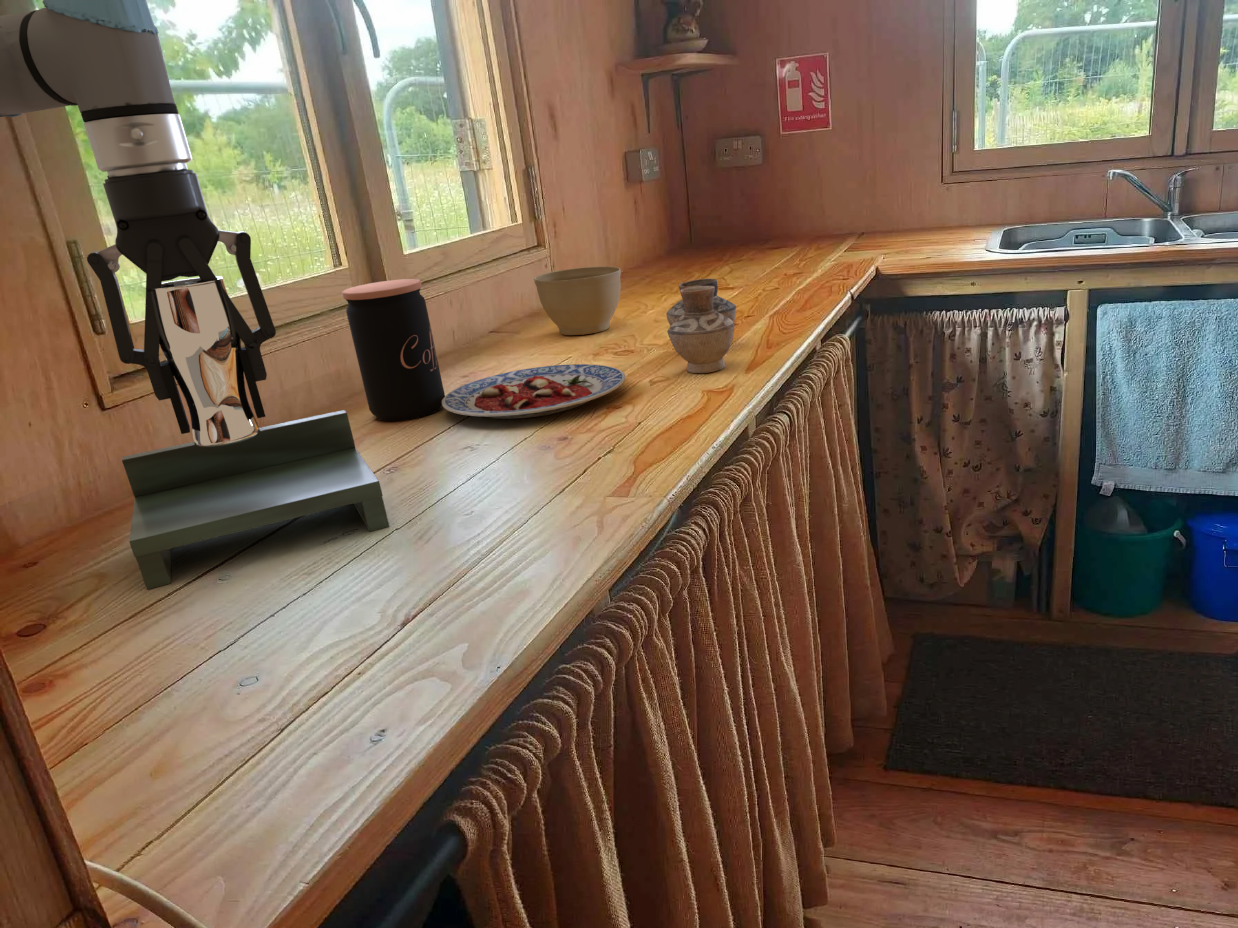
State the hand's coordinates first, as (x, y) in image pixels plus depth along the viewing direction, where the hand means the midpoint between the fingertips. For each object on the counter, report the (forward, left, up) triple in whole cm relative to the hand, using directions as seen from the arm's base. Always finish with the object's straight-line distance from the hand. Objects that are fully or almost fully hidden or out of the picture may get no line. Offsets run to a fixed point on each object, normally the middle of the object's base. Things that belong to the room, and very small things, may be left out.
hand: (223, 422), depth 94 cm
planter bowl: (-72, +64, -12) cm, 97 cm away
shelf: (0, +1, -12) cm, 12 cm away
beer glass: (0, 0, -2) cm, 2 cm away
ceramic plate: (-28, +39, -12) cm, 50 cm away
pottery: (-32, +68, -12) cm, 76 cm away
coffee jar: (-38, +23, -12) cm, 47 cm away
